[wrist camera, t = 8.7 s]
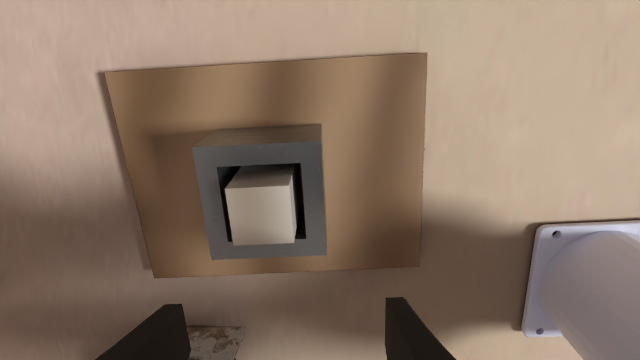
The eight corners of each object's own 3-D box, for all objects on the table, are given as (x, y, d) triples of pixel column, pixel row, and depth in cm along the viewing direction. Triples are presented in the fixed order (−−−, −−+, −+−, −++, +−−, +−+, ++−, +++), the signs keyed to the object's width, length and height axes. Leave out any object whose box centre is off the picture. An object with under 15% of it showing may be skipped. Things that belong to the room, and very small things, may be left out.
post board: (422, 52, 18) (465, 51, 13) (415, 257, 22) (446, 326, 17) (115, 71, 19) (25, 78, 13) (161, 268, 23) (107, 339, 17)
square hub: (321, 123, 19) (321, 141, 15) (326, 218, 20) (327, 255, 17) (218, 128, 19) (191, 147, 15) (232, 222, 21) (211, 259, 17)
